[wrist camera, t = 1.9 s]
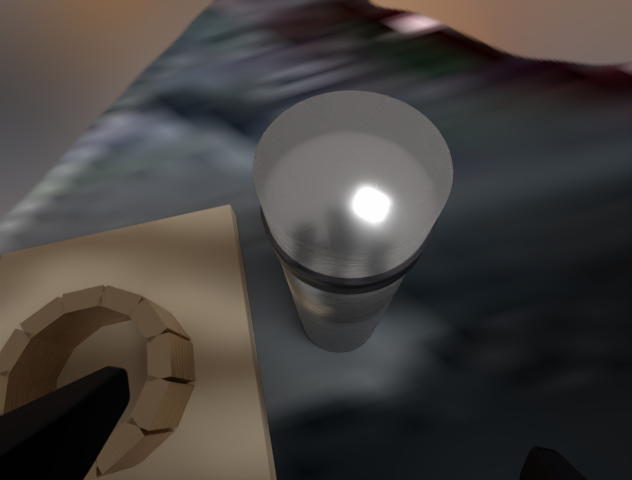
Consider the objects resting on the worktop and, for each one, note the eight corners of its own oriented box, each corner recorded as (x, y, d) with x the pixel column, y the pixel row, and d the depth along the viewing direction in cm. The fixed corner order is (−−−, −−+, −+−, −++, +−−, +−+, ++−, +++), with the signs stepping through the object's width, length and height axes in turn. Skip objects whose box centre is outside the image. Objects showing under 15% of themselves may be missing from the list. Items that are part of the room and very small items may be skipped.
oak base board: (287, 553, 16) (284, 566, 14) (-34, 645, 15) (-71, 669, 14) (235, 216, 23) (229, 204, 22) (21, 263, 23) (1, 254, 21)
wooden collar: (201, 448, 16) (175, 457, 14) (25, 495, 16) (-38, 513, 13) (188, 289, 20) (165, 270, 17) (43, 322, 19) (-4, 309, 17)
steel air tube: (388, 343, 20) (495, 227, 7) (308, 363, 19) (267, 281, 7) (365, 268, 22) (414, 72, 9) (292, 285, 21) (235, 108, 9)
